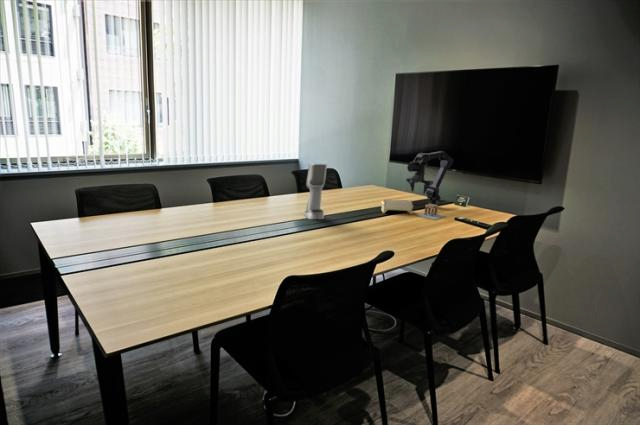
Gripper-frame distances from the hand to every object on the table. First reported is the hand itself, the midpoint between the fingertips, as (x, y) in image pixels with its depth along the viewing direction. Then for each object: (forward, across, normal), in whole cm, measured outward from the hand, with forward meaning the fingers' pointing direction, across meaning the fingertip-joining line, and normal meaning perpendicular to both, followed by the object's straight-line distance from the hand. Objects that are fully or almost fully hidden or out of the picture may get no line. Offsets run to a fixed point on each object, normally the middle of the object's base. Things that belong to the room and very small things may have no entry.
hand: (418, 192), depth 303 cm
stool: (+12, +16, -9) cm, 22 cm away
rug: (+12, +17, -10) cm, 23 cm away
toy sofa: (+12, -4, -21) cm, 25 cm away
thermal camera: (+12, -31, -76) cm, 83 cm away
